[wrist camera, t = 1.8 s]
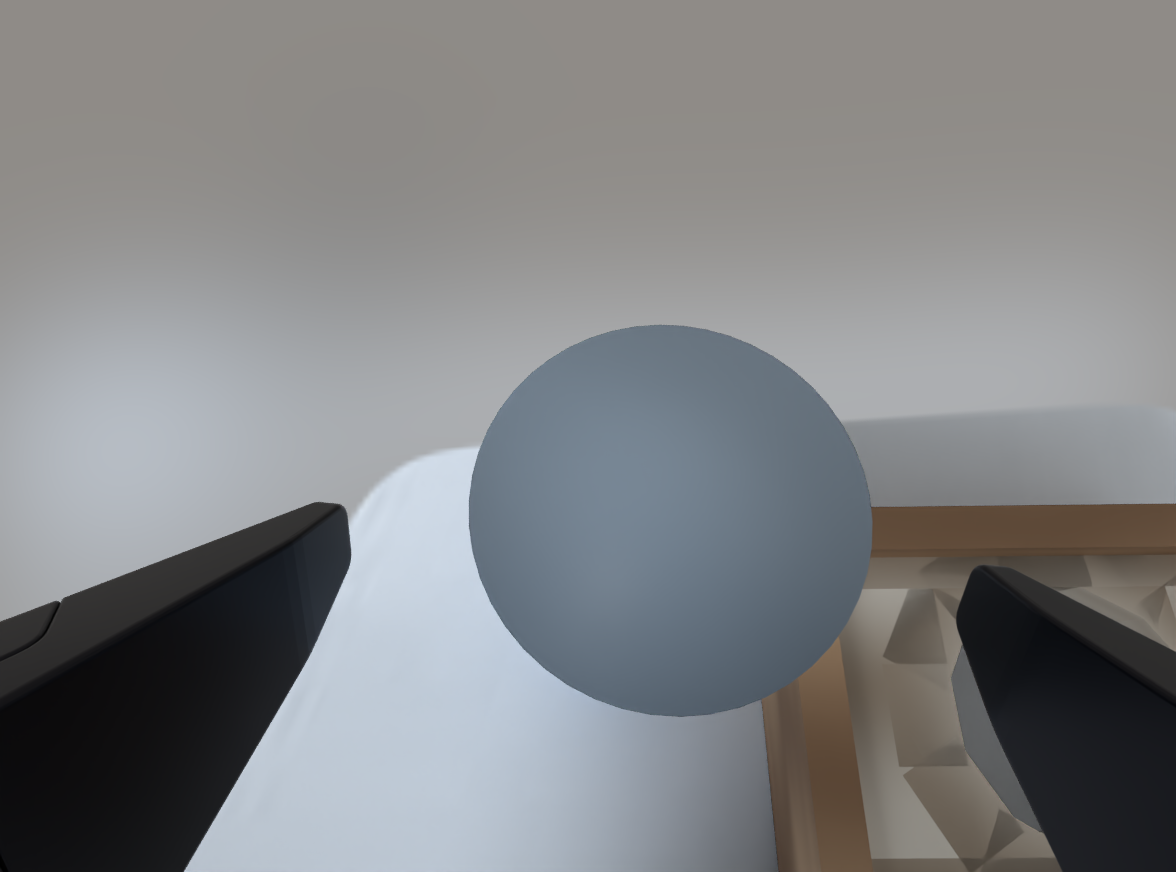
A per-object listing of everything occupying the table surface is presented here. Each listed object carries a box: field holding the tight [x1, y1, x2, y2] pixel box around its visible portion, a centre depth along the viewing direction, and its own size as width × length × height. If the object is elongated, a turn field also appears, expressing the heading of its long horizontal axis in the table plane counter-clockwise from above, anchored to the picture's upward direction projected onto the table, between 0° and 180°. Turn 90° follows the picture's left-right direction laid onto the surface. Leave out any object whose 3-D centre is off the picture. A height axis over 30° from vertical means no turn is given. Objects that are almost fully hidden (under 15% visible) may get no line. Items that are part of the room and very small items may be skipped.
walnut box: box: [762, 504, 1176, 872], centre depth 15 cm, size 11×11×4 cm
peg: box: [469, 325, 872, 717], centre depth 12 cm, size 4×4×12 cm
